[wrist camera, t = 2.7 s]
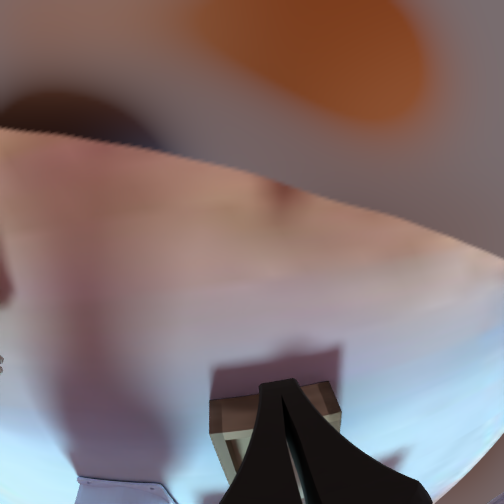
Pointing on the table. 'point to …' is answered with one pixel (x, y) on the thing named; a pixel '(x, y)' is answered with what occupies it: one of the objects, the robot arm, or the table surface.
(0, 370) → the grey rounded lump
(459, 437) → the table surface
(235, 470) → the walnut tray
